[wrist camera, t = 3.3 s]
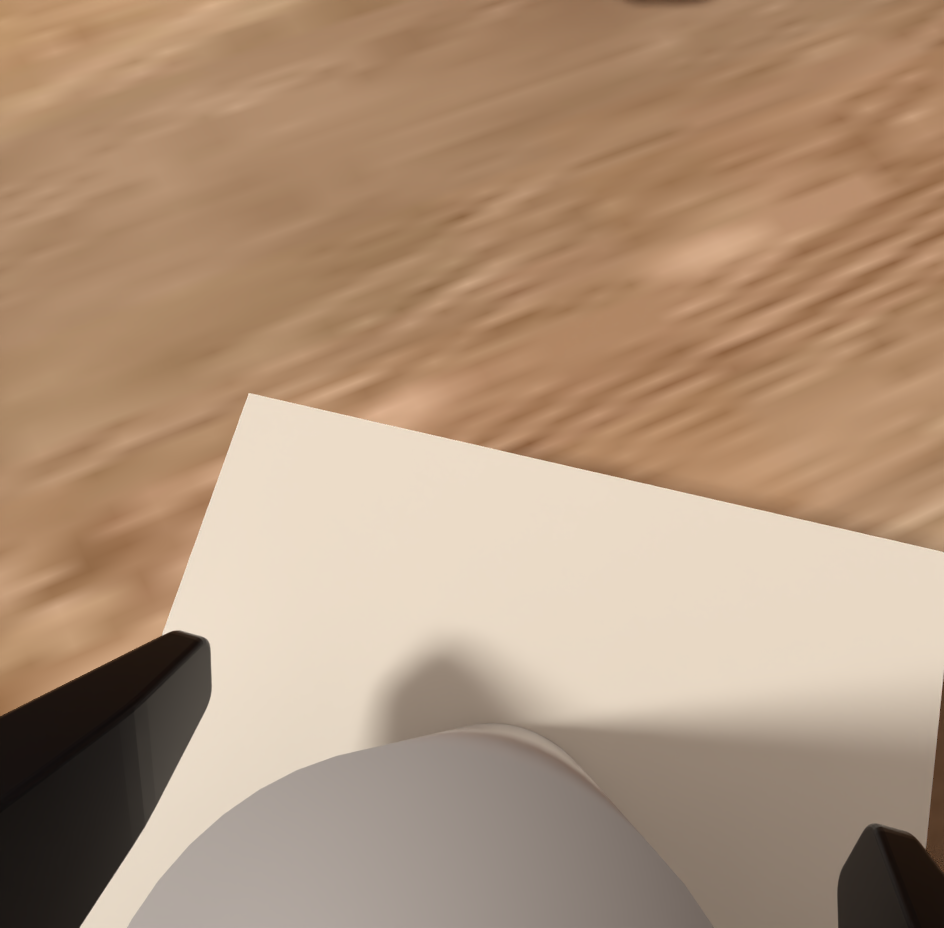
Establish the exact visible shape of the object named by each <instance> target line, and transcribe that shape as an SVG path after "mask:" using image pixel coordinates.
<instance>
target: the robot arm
mask: <svg viewBox="0 0 944 928" xmlns="http://www.w3.org/2000/svg"><path fill="white" fill-rule="evenodd" d="M211 692H212V674H211V648H210V643H209V641H208V640H207V639H206V638H204V637H202V636H199V635H195V634H191V633H188V632H184V631H180V630H175V631H171V632H168V633H166V634H164V635H162V636H160V637H158V638H156V639H154V640H152V641H150V642H148V643H146V644H144V645H142V646H140V647H138V648H136V649H134V650H132V651H130V652H128V653H126V654H124V655H122V656H120V657H118V658H116V659H114V660H112V661H110V662H108V663H106V664H104V665H102V666H100V667H98V668H96V669H94V670H92V671H90V672H88V673H86V674H84V675H82V676H80V677H78V678H76V679H74V680H72V681H70V682H68V683H66V684H64V685H62V686H60V687H58V688H56V689H54V690H52V691H50V692H48V693H46V694H44V695H42V696H40V697H38V698H36V699H34V700H32V701H30V702H28V703H26V704H24V705H22V706H20V707H18V708H16V709H14V710H12V711H10V712H8V713H6V714H4V715H2V716H0V928H80V926H81V925H82V923H83V922H84V920H85V919H86V917H87V916H88V914H89V913H90V911H91V910H92V908H93V907H94V905H95V904H96V902H97V901H98V899H99V897H100V896H101V894H102V893H103V891H104V890H105V888H106V887H107V885H108V884H109V882H110V881H111V879H112V878H113V876H114V875H115V873H116V871H117V870H118V868H119V867H120V865H121V864H122V862H123V861H124V859H125V858H126V856H127V855H128V853H129V852H130V850H131V849H132V847H133V846H134V844H135V842H136V841H137V839H138V837H139V836H140V834H141V833H142V831H143V829H144V828H145V826H146V824H147V823H148V821H149V819H150V817H151V815H152V813H153V812H154V810H155V808H156V806H157V804H158V802H159V800H160V798H161V796H162V794H163V792H164V790H165V789H166V787H167V785H168V783H169V781H170V779H171V777H172V775H173V773H174V771H175V769H176V767H177V765H178V763H179V761H180V759H181V757H182V756H183V754H184V752H185V750H186V748H187V746H188V744H189V742H190V740H191V738H192V736H193V734H194V732H195V730H196V728H197V726H198V724H199V723H200V721H201V719H202V717H203V715H204V713H205V711H206V709H207V706H208V704H209V701H210V697H211ZM837 907H838V928H944V873H943V872H942V870H941V869H940V868H939V866H938V865H937V864H936V863H935V861H934V860H933V859H932V857H931V856H930V855H929V853H928V852H927V851H926V849H925V848H924V847H923V846H922V844H921V843H920V842H919V841H918V839H917V838H916V837H914V836H913V835H912V834H910V833H909V832H906V831H903V830H899V829H896V828H892V827H888V826H885V825H881V824H878V823H872V824H870V825H868V826H867V827H866V828H865V829H864V830H863V832H862V834H861V835H860V837H859V839H858V841H857V843H856V844H855V846H854V848H853V850H852V851H851V853H850V855H849V857H848V858H847V860H846V862H845V864H844V865H843V867H842V869H841V872H840V875H839V880H838V887H837Z"/></svg>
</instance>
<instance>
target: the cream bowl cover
mask: <svg viewBox="0 0 944 928" xmlns="http://www.w3.org/2000/svg"><path fill="white" fill-rule="evenodd" d="M175 630H180V631H184V632H188V633H191V634H195V635H199V636H202V637H204V638H206V639H207V640H208V641H209V643H210V648H211V674H212V692H211V697H210V701H209V704H208V706H207V709H206V711H205V713H204V715H203V717H202V719H201V721H200V723H199V724H198V726H197V728H196V730H195V732H194V734H193V736H192V738H191V740H190V742H189V744H188V746H187V748H186V750H185V752H184V754H183V756H182V757H181V759H180V761H179V763H178V765H177V767H176V769H175V771H174V773H173V775H172V777H171V779H170V781H169V783H168V785H167V787H166V789H165V790H164V792H163V794H162V796H161V798H160V800H159V802H158V804H157V806H156V808H155V810H154V812H153V813H152V815H151V817H150V819H149V821H148V823H147V824H146V826H145V828H144V829H143V831H142V833H141V834H140V836H139V837H138V839H137V841H136V842H135V844H134V846H133V847H132V849H131V850H130V852H129V853H128V855H127V856H126V858H125V859H124V861H123V862H122V864H121V865H120V867H119V868H118V870H117V871H116V873H115V875H114V876H113V878H112V879H111V881H110V882H109V884H108V885H107V887H106V888H105V890H104V891H103V893H102V894H101V896H100V897H99V899H98V901H97V902H96V904H95V905H94V907H93V908H92V910H91V911H90V913H89V914H88V916H87V917H86V919H85V920H84V922H83V923H82V925H81V926H80V928H838V907H837V887H838V880H839V875H840V872H841V869H842V867H843V865H844V864H845V862H846V860H847V858H848V857H849V855H850V853H851V851H852V850H853V848H854V846H855V844H856V843H857V841H858V839H859V837H860V835H861V834H862V832H863V830H864V829H865V828H866V827H867V826H868V825H870V824H872V823H878V824H881V825H885V826H888V827H892V828H896V829H899V830H903V831H906V832H909V833H910V834H912V835H913V836H914V837H916V838H917V839H918V841H919V842H920V843H921V844H922V846H923V847H924V848H925V849H926V842H927V833H928V823H929V813H930V803H931V793H932V783H933V773H934V764H935V754H936V744H937V734H938V724H939V714H940V705H941V695H942V685H943V675H944V552H941V551H937V550H933V549H928V548H924V547H919V546H915V545H911V544H906V543H902V542H898V541H893V540H889V539H884V538H880V537H876V536H871V535H867V534H863V533H858V532H854V531H850V530H845V529H841V528H836V527H832V526H828V525H823V524H819V523H815V522H810V521H806V520H801V519H797V518H793V517H788V516H784V515H780V514H775V513H771V512H767V511H762V510H758V509H753V508H749V507H745V506H740V505H736V504H732V503H727V502H723V501H718V500H714V499H710V498H705V497H701V496H697V495H692V494H688V493H683V492H679V491H675V490H670V489H666V488H662V487H657V486H653V485H649V484H644V483H640V482H635V481H631V480H627V479H622V478H618V477H614V476H609V475H605V474H600V473H596V472H592V471H587V470H583V469H579V468H574V467H570V466H565V465H561V464H557V463H552V462H548V461H544V460H539V459H535V458H531V457H526V456H522V455H517V454H513V453H509V452H504V451H500V450H496V449H491V448H487V447H482V446H478V445H474V444H469V443H465V442H461V441H456V440H452V439H447V438H443V437H439V436H434V435H430V434H426V433H421V432H417V431H413V430H408V429H404V428H399V427H395V426H391V425H386V424H382V423H378V422H373V421H369V420H364V419H360V418H356V417H351V416H347V415H343V414H338V413H334V412H329V411H325V410H321V409H316V408H312V407H308V406H303V405H299V404H295V403H290V402H286V401H281V400H277V399H273V398H268V397H264V396H260V395H255V394H251V393H249V394H248V397H247V400H246V403H245V405H244V408H243V411H242V414H241V417H240V419H239V422H238V425H237V428H236V430H235V433H234V436H233V439H232V442H231V444H230V447H229V450H228V453H227V456H226V458H225V461H224V464H223V467H222V469H221V472H220V475H219V478H218V481H217V483H216V486H215V489H214V492H213V495H212V497H211V500H210V503H209V506H208V508H207V511H206V514H205V517H204V520H203V522H202V525H201V528H200V531H199V533H198V536H197V539H196V542H195V545H194V547H193V550H192V553H191V556H190V559H189V561H188V564H187V567H186V570H185V572H184V575H183V578H182V581H181V584H180V586H179V589H178V592H177V595H176V598H175V600H174V603H173V606H172V609H171V611H170V614H169V617H168V620H167V623H166V625H165V628H164V631H163V634H162V635H164V634H166V633H168V632H171V631H175Z"/></svg>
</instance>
